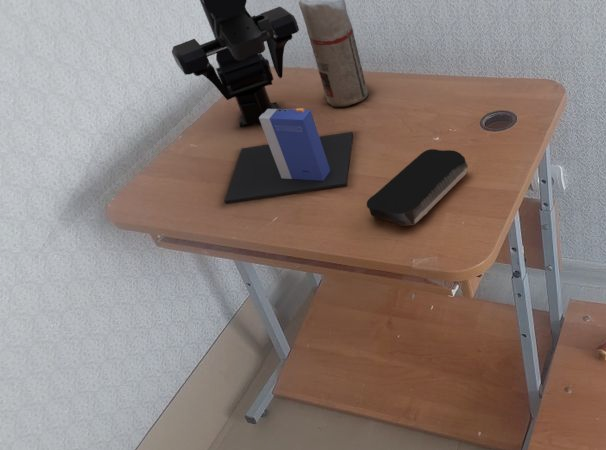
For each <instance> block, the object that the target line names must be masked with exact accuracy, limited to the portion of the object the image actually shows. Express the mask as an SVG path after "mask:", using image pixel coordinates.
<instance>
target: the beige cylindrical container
mask: <svg viewBox="0 0 606 450" xmlns="http://www.w3.org/2000/svg"><path fill="white" fill-rule="evenodd" d="M298 7H299V9H300V12H301V16H302V18H303V21H304V24H305V27H306V32H307V36H308V39H309V42H310V46H311V49H312V54H313V56H314V59H315V64H316V67H317V70H318V74H319V77H320V80H321V84H322V87H323V90H324V94H325V97H326V98H325V100H326V103H327V104H329V105H331V106H332V107H336V108H337V107H348V106H351V105H355V104H357V103H360V102H363V101H364V100H365V99H366V98H367V97H368V96H369V91H368V87H367V83H366V80H365V74H364V71H363V67H362V64H361V58H360V55H359V51H358V47H357V43H356V38H355V34H354V29H353V25H352V22H351V19H350V17H349V13H348V10H347V3H346V1H345V0H299V1H298Z"/></svg>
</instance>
